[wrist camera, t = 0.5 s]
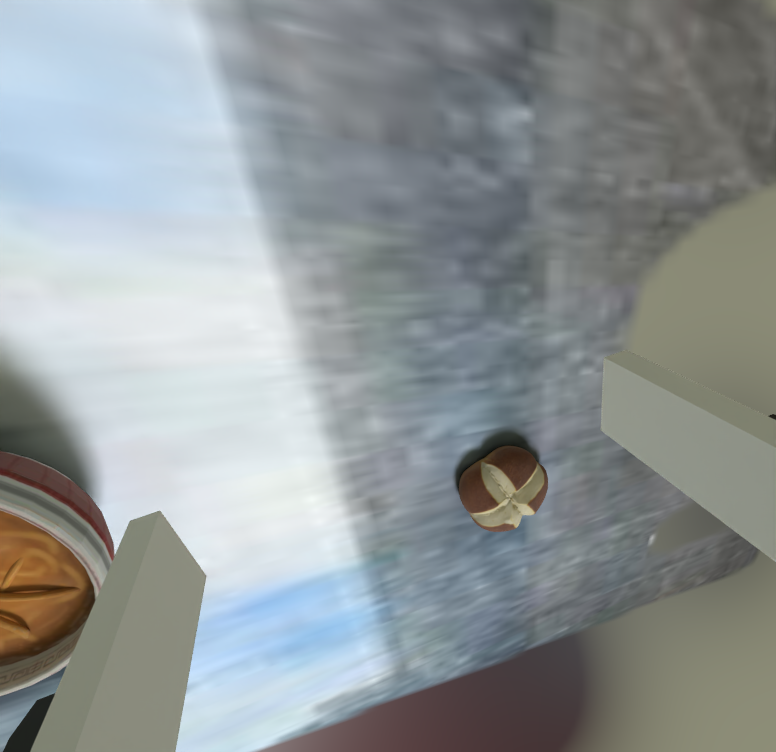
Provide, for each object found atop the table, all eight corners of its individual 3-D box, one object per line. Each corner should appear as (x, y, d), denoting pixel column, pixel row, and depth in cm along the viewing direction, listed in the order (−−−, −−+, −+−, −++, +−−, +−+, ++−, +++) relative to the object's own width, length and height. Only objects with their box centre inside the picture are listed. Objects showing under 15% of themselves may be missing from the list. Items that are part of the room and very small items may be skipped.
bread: (476, 526, 54) (493, 556, 50) (444, 473, 48) (460, 501, 44) (546, 484, 54) (570, 510, 50) (522, 426, 48) (547, 450, 44)
